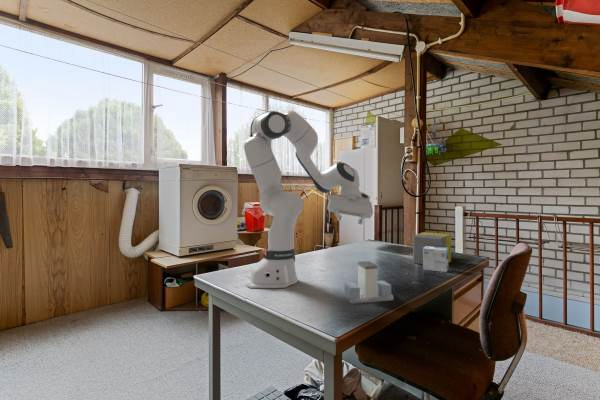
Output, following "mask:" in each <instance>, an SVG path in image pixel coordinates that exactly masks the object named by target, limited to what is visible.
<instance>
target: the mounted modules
mask: <svg viewBox="0 0 600 400" xmlns="http://www.w3.org/2000/svg"><path fill="white" fill-rule="evenodd" d="M344 291H345V293H346V294H347V295H348V296H349V297H350V298H359V297H360V287H358V284H356V283H355V282H345V283H344ZM377 292H378V293H379V294H381V295H382V296H383V295H392V284H390V283H388V282H387V281H385V280H377Z"/></svg>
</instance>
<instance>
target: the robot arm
mask: <svg viewBox="0 0 600 400" xmlns="http://www.w3.org/2000/svg"><path fill="white" fill-rule="evenodd" d="M281 137H285V138H286V139H287V140H288V141H289V142H290V143H291V144H292V145H293V147H294V149H295V157H296V158H297V160H298V163H299V164H300V166H301V167H302V169H304V171H305V172H306V174H307V175H308V176H309V179H310V180H311V181H312V183H313V184H314V186H315V188H316V190H318V191H319V192H320V193H323V194H327V193H329V192H331V191H332V190H334V189H336V188H338V187H340V188H341V189H340V194H334V193H330V194H328V195H327V201H328V202H327V203H328V204H327V207H326V209H327V210H328V212H330V213H334V215H335V217H336V220H337V221H341V220H342V215H346V216H353V217H358V218H359V219H358V220H357V222H358V225H363V222H364V221H363V220H364V219H367V220H368V219H370V218H371V217H372V216H373V214H374V210H373V204H372V202H371V200H370V199H371V196H370V195H368V194H366V193H364V192H362V191H360V177H359V173H358V171H357V169H355V168H354V167H351V165H349V164H347V163H346V162H342V161H338V162H337V163H335V164H333V165H331V166H330V167H328V168H326V169H325V170H323V171H320V170H319V169H318V167H317V165H316V164H315V163H314V161H313V160H312V158H311V156H312V154H313V153H314V151H315V150H316V147H317V145H318V141H319V137H318V133H317V132H316V130H315V129H314V128H313V126H312V125H310V123H309V122H308V121H307V119H305V118H304V117H302V116H301V115H300V114H299V113H298V112H296V111H294V110H288V111H285V112H284V113H281V112H279V111H276V110H270V111H267V112H262V113H261V114H259V115H257V116H255V118H253V120H252V122H251V124H250V133H249V138H247V139H246V140H245V142H244V144H243V151H244V154H245V158H246V161H247V163H248V165H249V168H250V171H251V173H252V175H253V177H254V179H255V182H256V184H257V189H258V191H259V198H260V200H259V207H260V210H262V212H264V213H265V214H267V215H268V216H271V217H272V216H273V218H272V223H271V225H270V227H269V229H268V232H267V242H268V243H267V245H268V247H267V248H262V250H261V253H262V254H263V258H262V259H261V260H259V261H258V262H257V263H256V264H254V265H253V266H252V268H251V271H250V275H249V276H248V277H247V278H246V279H245V281H244V282H245V286H246V287H247V288H250V289H271V288H272V289H273V288H274V289H277V288H278V289H280V288H281V289H282V288H283V289H285V288H288V287H289V286H292V285H294V284H297V283H298V282H299V280H298V276H297V272H296V271H297V270H296V265H295V262H296V249H295V239H294V238H295V227H296V223H297V220H298V218H299V216H300V215H301V213H302V212H303V210H304V200H303V198H302V197H301V195H299V194H298V193H296V192H293V191H290V190H289V191H288V190H286V191H285V190H284V189H283V187H282V182H281V180H282V175H283V173H282V170H281V169H280V165H279V163H278V162H277V159H276V157H275V154H274V152H273V151H272V141H273V140H276V139H280V138H281ZM340 214H341V215H340Z"/></svg>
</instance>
